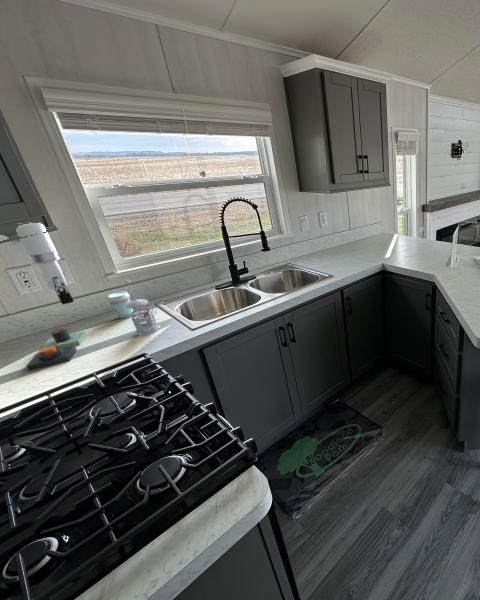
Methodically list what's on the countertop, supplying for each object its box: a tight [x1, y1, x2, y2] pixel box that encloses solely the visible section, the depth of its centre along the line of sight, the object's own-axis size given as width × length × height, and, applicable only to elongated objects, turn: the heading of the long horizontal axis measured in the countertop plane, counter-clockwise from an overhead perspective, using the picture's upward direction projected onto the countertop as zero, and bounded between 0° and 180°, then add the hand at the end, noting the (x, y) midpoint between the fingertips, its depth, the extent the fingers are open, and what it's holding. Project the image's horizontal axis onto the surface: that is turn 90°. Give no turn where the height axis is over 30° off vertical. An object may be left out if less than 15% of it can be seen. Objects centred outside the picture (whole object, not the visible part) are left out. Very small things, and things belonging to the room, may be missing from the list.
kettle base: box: [26, 346, 78, 371], centre depth 130 cm, size 12×9×4 cm
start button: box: [40, 346, 57, 355], centre depth 129 cm, size 4×4×2 cm
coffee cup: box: [107, 290, 134, 320], centre depth 162 cm, size 8×8×12 cm
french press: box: [124, 279, 161, 337], centre depth 146 cm, size 10×12×25 cm
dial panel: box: [40, 330, 87, 351], centre depth 142 cm, size 12×10×2 cm
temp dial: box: [50, 327, 71, 343], centre depth 140 cm, size 5×5×5 cm
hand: (66, 299), depth 126 cm, fingers open, 9 cm apart
